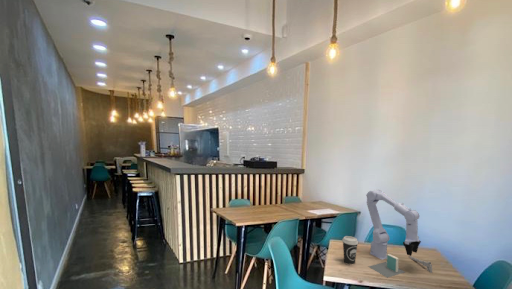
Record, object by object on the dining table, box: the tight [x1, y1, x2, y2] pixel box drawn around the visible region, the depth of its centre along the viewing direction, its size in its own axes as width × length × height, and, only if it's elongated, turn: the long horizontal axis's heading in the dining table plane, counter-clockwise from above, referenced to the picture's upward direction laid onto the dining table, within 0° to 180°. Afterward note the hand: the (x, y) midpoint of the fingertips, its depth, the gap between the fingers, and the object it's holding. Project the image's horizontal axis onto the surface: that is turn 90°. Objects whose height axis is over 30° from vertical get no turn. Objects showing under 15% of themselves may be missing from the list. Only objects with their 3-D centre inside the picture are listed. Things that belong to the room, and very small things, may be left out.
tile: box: [386, 253, 400, 272], centre depth 145 cm, size 6×2×8 cm, turn 25°
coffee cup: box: [341, 235, 359, 265], centre depth 153 cm, size 10×10×15 cm
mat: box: [367, 261, 406, 279], centre depth 145 cm, size 13×16×1 cm
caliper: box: [408, 255, 433, 274], centre depth 153 cm, size 20×1×6 cm, turn 1°
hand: (411, 253), depth 145 cm, fingers open, 7 cm apart
